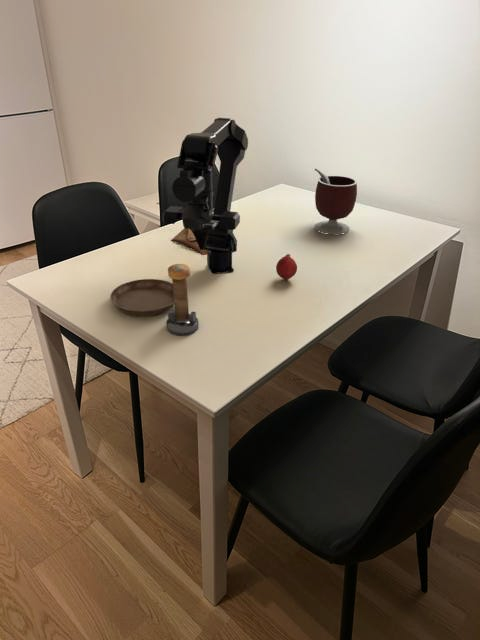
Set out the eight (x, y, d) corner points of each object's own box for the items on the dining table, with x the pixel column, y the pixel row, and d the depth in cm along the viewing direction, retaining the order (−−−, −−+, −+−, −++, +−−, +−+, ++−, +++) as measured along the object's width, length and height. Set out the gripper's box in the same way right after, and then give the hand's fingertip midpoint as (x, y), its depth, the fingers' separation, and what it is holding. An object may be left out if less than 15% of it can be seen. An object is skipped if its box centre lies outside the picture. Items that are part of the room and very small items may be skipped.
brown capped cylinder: (176, 310, 119) (172, 261, 112) (195, 313, 118) (192, 264, 111) (169, 321, 115) (164, 271, 108) (188, 324, 114) (185, 274, 107)
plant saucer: (142, 282, 139) (141, 272, 137) (194, 298, 131) (193, 288, 129) (96, 309, 126) (95, 298, 124) (151, 329, 118) (150, 318, 116)
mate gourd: (357, 226, 177) (365, 170, 167) (342, 239, 167) (350, 179, 157) (318, 218, 184) (323, 163, 174) (301, 229, 174) (306, 172, 164)
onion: (282, 286, 137) (284, 259, 133) (271, 277, 141) (273, 251, 137) (299, 282, 139) (302, 255, 135) (288, 273, 144) (290, 248, 140)
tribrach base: (173, 317, 122) (172, 302, 120) (202, 321, 121) (202, 306, 119) (161, 333, 116) (160, 318, 114) (192, 337, 114) (192, 322, 112)
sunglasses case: (168, 239, 164) (175, 220, 163) (182, 244, 170) (189, 226, 169) (205, 255, 154) (212, 235, 153) (219, 260, 159) (226, 241, 159)
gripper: (151, 196, 115) (156, 257, 123) (229, 203, 112) (229, 266, 120) (168, 183, 124) (172, 241, 132) (240, 189, 121) (239, 248, 129)
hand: (202, 249), depth 128 cm, fingers closed
